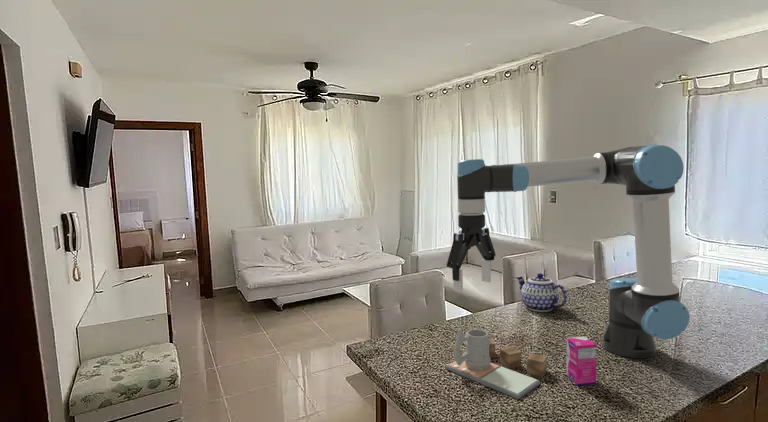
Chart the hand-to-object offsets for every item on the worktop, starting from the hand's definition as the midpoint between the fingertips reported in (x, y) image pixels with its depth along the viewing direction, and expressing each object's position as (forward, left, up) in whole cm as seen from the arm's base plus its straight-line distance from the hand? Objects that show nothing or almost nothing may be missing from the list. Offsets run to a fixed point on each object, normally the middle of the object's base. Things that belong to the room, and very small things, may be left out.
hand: (472, 286), depth 125 cm
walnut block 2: (-6, -11, -26) cm, 28 cm away
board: (-6, 0, -25) cm, 26 cm away
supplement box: (-25, -16, -26) cm, 39 cm away
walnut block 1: (+3, -12, -26) cm, 28 cm away
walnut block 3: (-14, -12, -26) cm, 31 cm away
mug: (0, +1, -24) cm, 24 cm away
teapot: (+13, -65, -26) cm, 71 cm away
